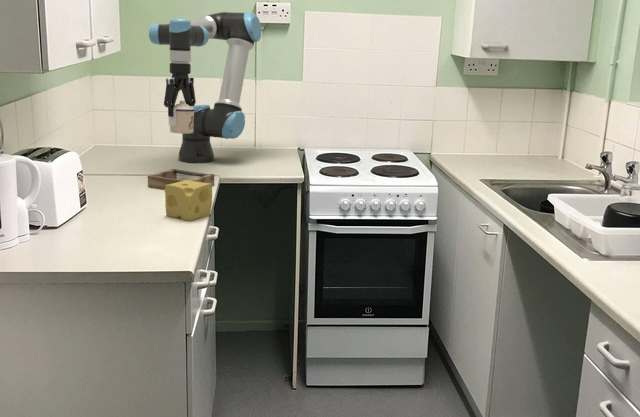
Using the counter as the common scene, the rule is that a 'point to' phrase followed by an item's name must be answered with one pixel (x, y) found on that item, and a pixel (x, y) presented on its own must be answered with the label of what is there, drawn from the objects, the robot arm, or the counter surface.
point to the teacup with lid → (183, 119)
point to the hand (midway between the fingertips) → (180, 124)
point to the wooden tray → (171, 177)
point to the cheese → (188, 199)
